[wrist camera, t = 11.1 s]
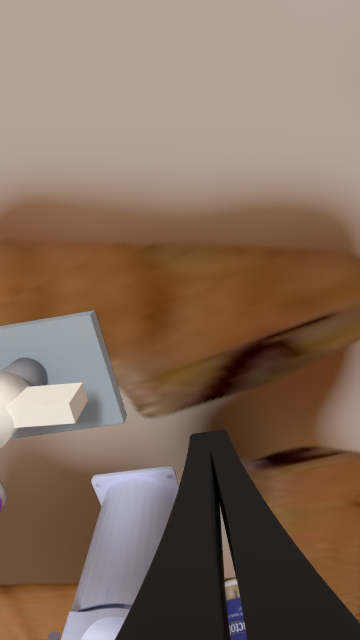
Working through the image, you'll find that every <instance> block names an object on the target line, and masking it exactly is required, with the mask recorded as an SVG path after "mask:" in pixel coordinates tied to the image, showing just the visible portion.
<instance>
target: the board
mask: <svg viewBox="0 0 360 640" xmlns="http://www.w3.org/2000/svg"><path fill="white" fill-rule="evenodd" d="M0 370H3V371H8V372H11V373H13V374H15V375H17V376H19V377H21V378H22V379H23V380H24V381H26V382H27V383H28V385H29V386H30V387H33V386H45V385H57V384H69V383H82V382H83V385H84V389H85V392H86V396H87V400H88V401H87V403H86V405H85V407H84V408H83V410H82V412H81V414H80V416H79V417H78V419H77V421H76V423H73V424H60V425H46V426H33V427H20V428H18V430H17V431H16V432H15V433H14V434H13V435H12V437H11V438H10V439H12V438H20V437H27V436H34V435H42V434H49V433H56V432H63V431H71V430H78V429H85V428H93V427H101V426H108V425H115V424H123V423H124V422H125V419H126V411H125V408H124V405H123V402H122V398H121V395H120V391H119V388H118V385H117V382H116V378H115V375H114V372H113V369H112V365H111V362H110V359H109V356H108V352H107V349H106V346H105V343H104V339H103V336H102V333H101V329H100V326H99V323H98V320H97V316H96V313H95V310H94V311H88V312H82V313H76V314H70V315H64V316H58V317H52V318H47V319H41V320H35V321H29V322H23V323H17V324H11V325H5V326H0Z"/></svg>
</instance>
